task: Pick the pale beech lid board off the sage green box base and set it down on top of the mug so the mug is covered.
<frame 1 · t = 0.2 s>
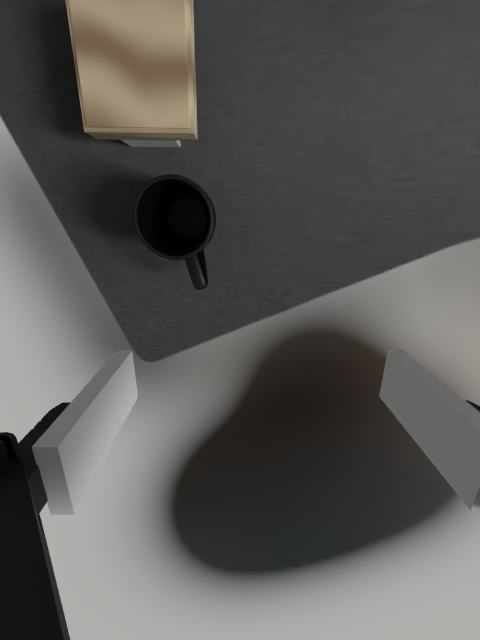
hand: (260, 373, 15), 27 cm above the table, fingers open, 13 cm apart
lid: (142, 73, 31), point 3 cm above the table, touching sage green box base
mug: (192, 232, 39), on the table
sage green box base: (151, 87, 34), on the table
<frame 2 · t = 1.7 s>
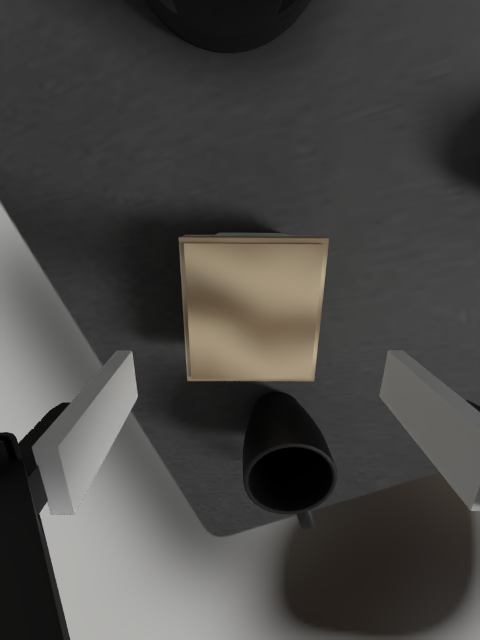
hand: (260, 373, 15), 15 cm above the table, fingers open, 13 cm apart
lid: (250, 304, 26), point 3 cm above the table, touching sage green box base
mug: (279, 423, 35), on the table
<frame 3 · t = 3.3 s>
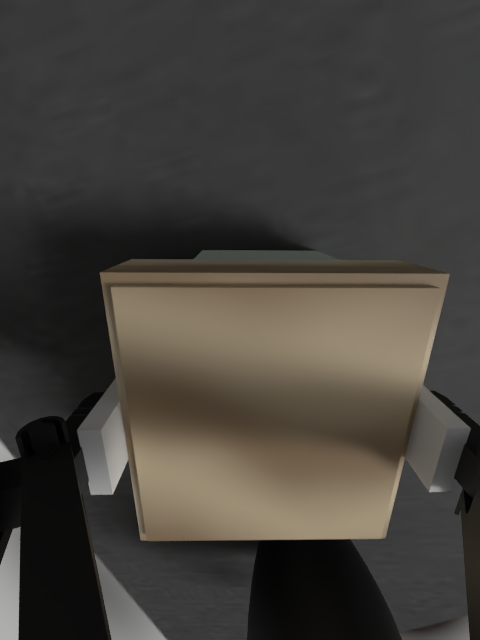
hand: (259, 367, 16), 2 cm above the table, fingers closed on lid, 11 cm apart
lid: (262, 386, 14), point 4 cm above the table, touching gripper, sage green box base
mug: (302, 538, 23), on the table
sage green box base: (257, 354, 17), on the table
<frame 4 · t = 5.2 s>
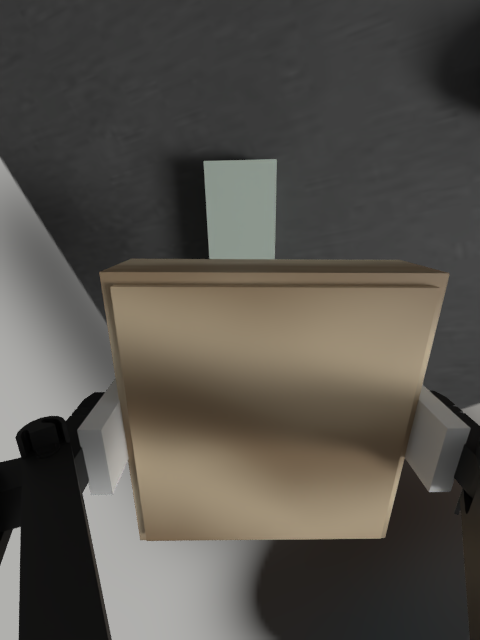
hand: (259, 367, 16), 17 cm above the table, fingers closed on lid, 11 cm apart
lid: (261, 386, 14), point 19 cm above the table, touching gripper
sage green box base: (241, 232, 30), on the table
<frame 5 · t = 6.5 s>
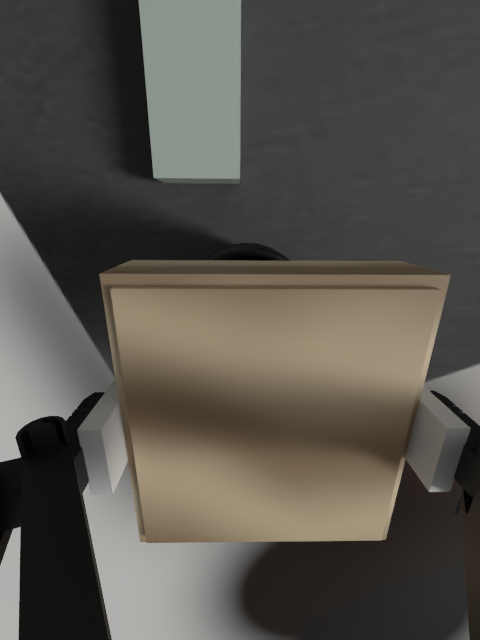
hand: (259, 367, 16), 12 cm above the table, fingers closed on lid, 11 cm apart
lid: (262, 387, 14), point 14 cm above the table, touching gripper
mug: (249, 301, 27), on the table
sage green box base: (199, 94, 22), on the table
when the fingers open (10 cm above the table, at t = 7.3 s): lid drops 3 cm, resting on mug.
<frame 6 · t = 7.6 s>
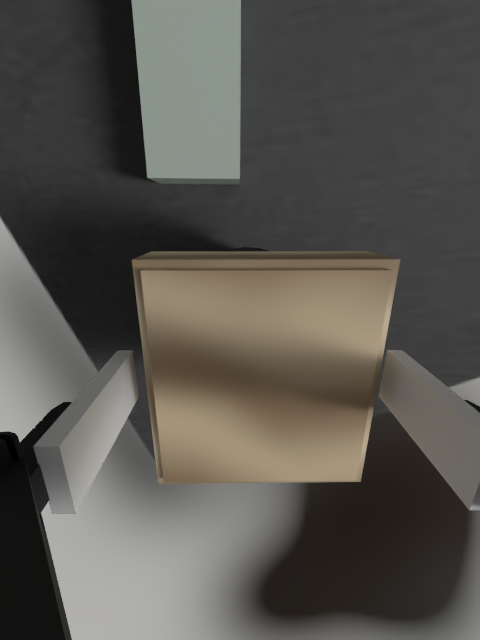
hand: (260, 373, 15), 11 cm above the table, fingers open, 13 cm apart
lid: (258, 358, 17), point 9 cm above the table, touching mug
sage green box base: (196, 89, 20), on the table
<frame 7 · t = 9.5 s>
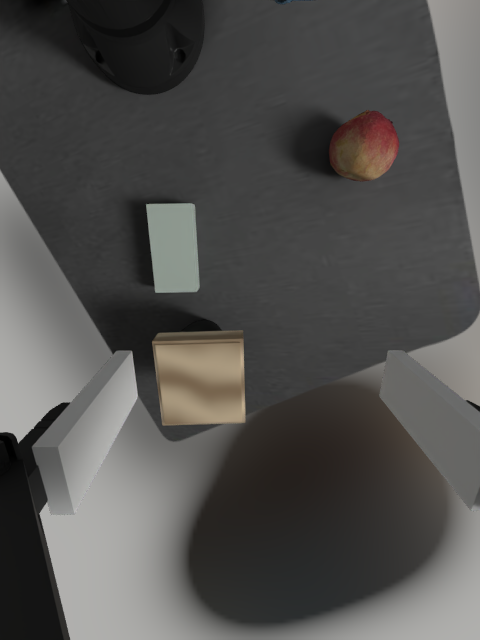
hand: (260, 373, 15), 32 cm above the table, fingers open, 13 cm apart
lid: (203, 372, 40), point 9 cm above the table, touching mug
mug: (209, 345, 49), on the table, touching lid
sage green box base: (177, 248, 44), on the table
fruit: (349, 156, 41), on the table
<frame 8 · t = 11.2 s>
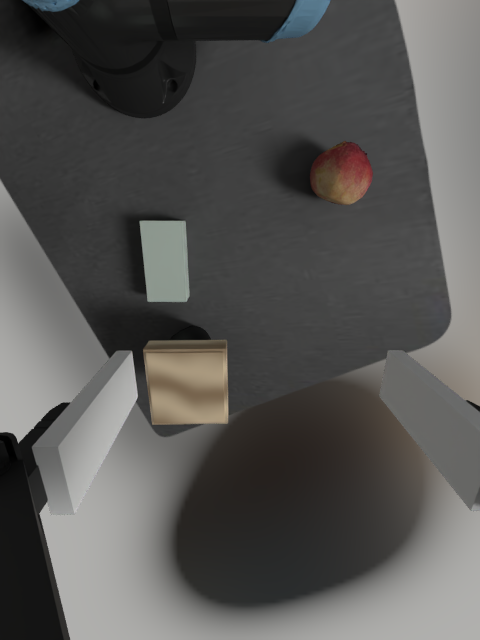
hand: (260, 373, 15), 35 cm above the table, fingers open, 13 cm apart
lid: (190, 377, 44), point 9 cm above the table, touching mug
mug: (198, 349, 53), on the table, touching lid
sage green box base: (168, 259, 47), on the table
fruit: (330, 179, 44), on the table
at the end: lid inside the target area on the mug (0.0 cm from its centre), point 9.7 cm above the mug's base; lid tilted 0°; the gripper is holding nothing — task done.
